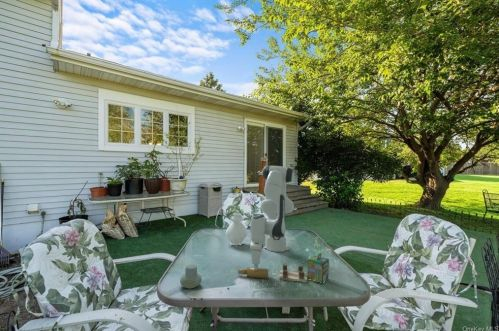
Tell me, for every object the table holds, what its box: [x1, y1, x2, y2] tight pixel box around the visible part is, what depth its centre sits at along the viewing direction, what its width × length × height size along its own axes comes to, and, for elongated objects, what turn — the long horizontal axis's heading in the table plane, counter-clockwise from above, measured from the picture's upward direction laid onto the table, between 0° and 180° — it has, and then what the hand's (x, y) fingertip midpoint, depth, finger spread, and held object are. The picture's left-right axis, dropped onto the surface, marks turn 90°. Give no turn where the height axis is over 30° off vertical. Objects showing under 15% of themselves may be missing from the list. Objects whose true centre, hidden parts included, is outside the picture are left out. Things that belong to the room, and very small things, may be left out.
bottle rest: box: [279, 263, 308, 283], centre depth 143 cm, size 11×15×5 cm
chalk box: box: [307, 252, 330, 284], centre depth 141 cm, size 9×9×15 cm
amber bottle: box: [238, 266, 269, 279], centre depth 142 cm, size 5×17×5 cm
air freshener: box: [179, 264, 203, 290], centre depth 129 cm, size 11×8×10 cm
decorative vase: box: [225, 212, 249, 246], centre depth 205 cm, size 18×18×25 cm
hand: (257, 266), depth 145 cm, fingers open, 8 cm apart
